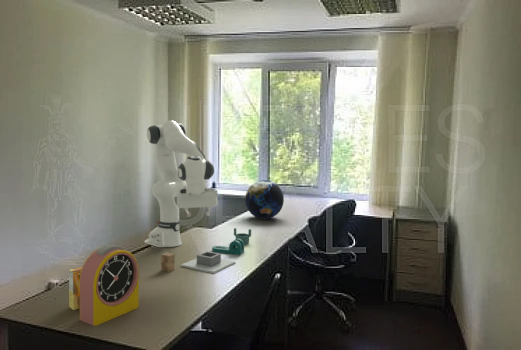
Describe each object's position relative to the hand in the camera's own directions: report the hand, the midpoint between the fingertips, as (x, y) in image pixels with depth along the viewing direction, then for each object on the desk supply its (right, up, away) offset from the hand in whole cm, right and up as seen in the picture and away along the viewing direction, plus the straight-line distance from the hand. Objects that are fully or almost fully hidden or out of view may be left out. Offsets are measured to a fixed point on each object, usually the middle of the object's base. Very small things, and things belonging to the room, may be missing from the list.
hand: (198, 216), depth 230 cm
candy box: (-39, -31, -49) cm, 70 cm away
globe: (+33, -14, +128) cm, 133 cm away
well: (+4, -26, +8) cm, 27 cm away
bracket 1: (+12, -24, +33) cm, 42 cm away
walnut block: (-15, -26, -2) cm, 30 cm away
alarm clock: (-26, -32, -55) cm, 69 cm away
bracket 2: (+20, -21, +54) cm, 61 cm away
